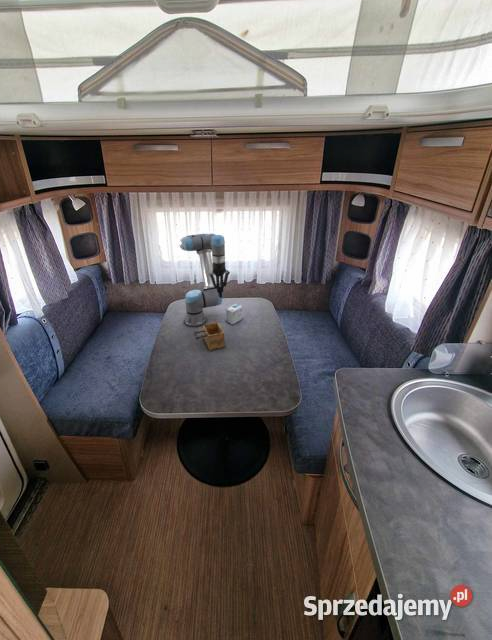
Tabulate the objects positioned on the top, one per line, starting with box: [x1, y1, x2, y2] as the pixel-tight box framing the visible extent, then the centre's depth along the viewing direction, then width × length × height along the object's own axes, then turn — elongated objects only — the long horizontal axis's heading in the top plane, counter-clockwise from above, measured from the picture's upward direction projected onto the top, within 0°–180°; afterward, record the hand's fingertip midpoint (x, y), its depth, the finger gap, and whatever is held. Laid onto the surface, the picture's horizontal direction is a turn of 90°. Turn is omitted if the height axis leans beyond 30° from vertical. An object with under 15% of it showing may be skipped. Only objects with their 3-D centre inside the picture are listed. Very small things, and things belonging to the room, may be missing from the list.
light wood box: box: [193, 321, 226, 351], centre depth 181 cm, size 11×13×17 cm
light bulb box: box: [225, 303, 243, 325], centre depth 206 cm, size 11×7×11 cm, turn 134°
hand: (220, 296), depth 177 cm, fingers closed
